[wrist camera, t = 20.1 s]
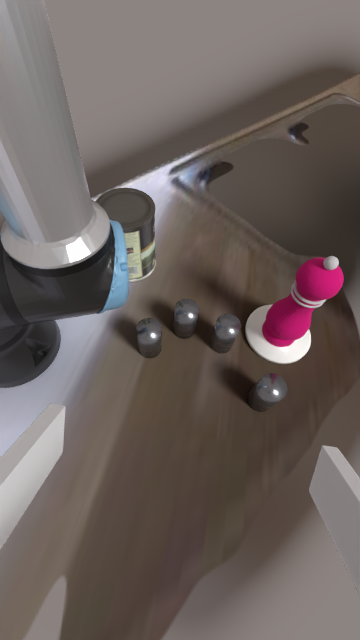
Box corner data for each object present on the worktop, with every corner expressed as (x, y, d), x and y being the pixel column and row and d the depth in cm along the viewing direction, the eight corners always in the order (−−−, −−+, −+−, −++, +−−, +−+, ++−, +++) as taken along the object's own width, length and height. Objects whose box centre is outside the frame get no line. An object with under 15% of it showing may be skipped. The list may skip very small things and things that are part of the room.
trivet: (234, 316, 56) (235, 314, 56) (287, 300, 59) (289, 297, 58) (264, 373, 51) (266, 371, 50) (321, 352, 54) (323, 350, 53)
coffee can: (143, 239, 65) (140, 181, 53) (164, 271, 61) (165, 217, 49) (99, 253, 62) (84, 196, 50) (117, 289, 58) (106, 235, 46)
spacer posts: (133, 333, 53) (130, 313, 47) (223, 307, 57) (231, 285, 51) (171, 448, 44) (173, 441, 38) (275, 406, 48) (292, 394, 42)
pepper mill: (256, 315, 56) (299, 237, 38) (292, 315, 56) (352, 238, 39) (262, 350, 52) (314, 281, 35) (302, 350, 53) (372, 281, 35)
